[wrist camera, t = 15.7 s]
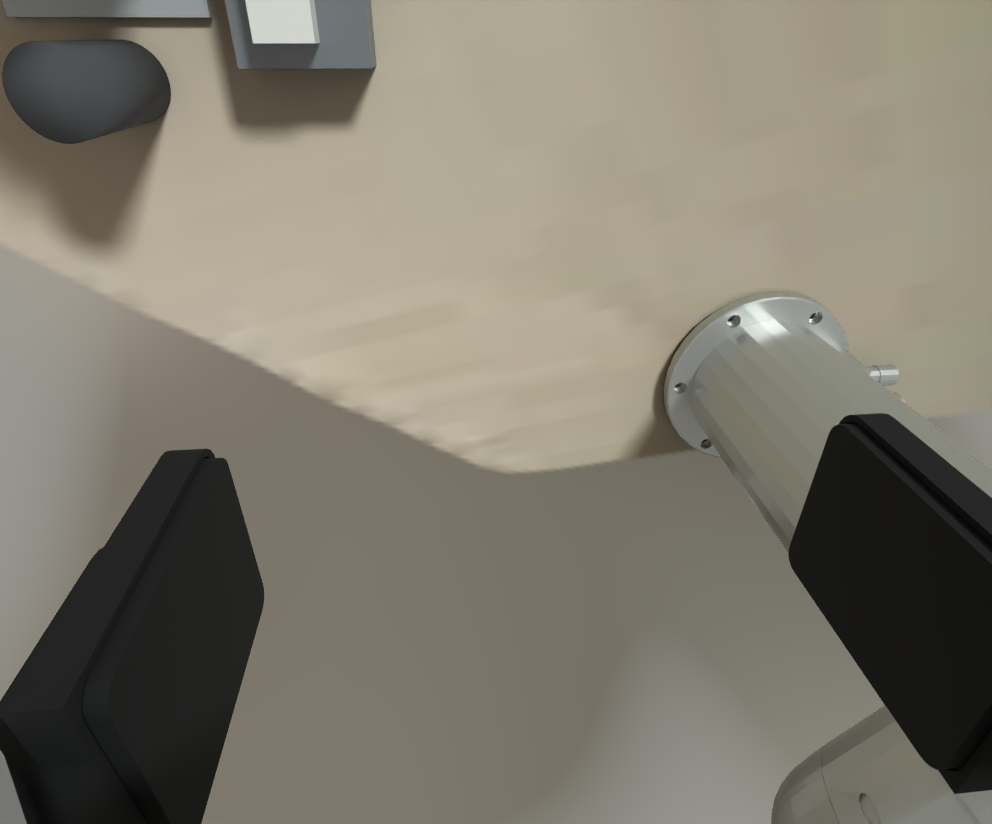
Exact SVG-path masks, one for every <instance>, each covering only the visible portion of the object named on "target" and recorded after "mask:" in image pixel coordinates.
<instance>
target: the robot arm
mask: <svg viewBox="0 0 992 824" xmlns="http://www.w3.org/2000/svg"><path fill="white" fill-rule="evenodd" d="M898 378H899V372H898V369H897V368H896V366H894V365H873V366H871V367H867V366H866V365H864V364H863V363H862V362H860V361H859V360H858V359H856V358H855V357H854V356H852V355H851V354H850V353H849V346H848V342H847V338H846V334H845V331H844V330H843V328H842V326H841V325H840V323H839V321H838V320H837V319H836V318H835V317H834V316H833V315H832V314H831V313H830V312H829V311H828V310H827V309H826V308H824V307H823V306H821V305H820V304H818V303H817V302H815V301H813V300H811V299H808V298H806V297H804V296H801V295H797V294H791V293H785V292H774V293H762V294H757V295H753V296H748V297H745V298H743V299H740V300H737V301H735V302H732V303H730V304H728V305H726V306H724V307H723V308H721V309H719V310H718V311H716V312H714V313H712V314H711V315H710V316H709V317H707V318H706V319H705V320H704V321H702V322H701V323H700V324H699V325H697V326H696V327H695V328H694V330H693V331H692V332H691V333H690V334H689V335H688V336H687V337H686V338H685V339H684V341H683V342H682V344H681V345H680V347H679V348H678V350H677V351H676V353H675V354H674V356H673V359H672V361H671V363H670V366H669V368H668V370H667V374H666V379H665V383H664V404H665V408H666V413H667V415H668V417H669V419H670V421H671V423H672V425H673V427H674V428H675V430H676V431H677V433H678V434H679V436H680V437H681V438H682V439H683V440H684V441H685V442H686V443H688V444H689V445H690V446H691V447H693V448H695V449H696V450H698V451H700V452H702V453H705V454H709V455H712V456H715V457H722V459H723V460H724V462H725V463H726V464H727V466H728V467H729V469H730V470H731V471H732V473H733V474H734V476H735V477H736V479H737V480H738V482H739V483H740V484H741V486H742V487H743V489H744V490H745V492H746V493H747V495H748V496H749V497H750V499H751V500H752V502H753V503H754V505H755V506H756V508H757V509H758V510H759V512H760V513H761V515H762V516H763V518H764V519H765V521H766V522H767V523H768V525H769V526H770V528H771V529H772V530H773V532H774V533H775V535H776V536H777V538H778V539H779V541H780V542H781V544H782V545H783V546H784V548H785V549H786V551H787V552H788V554H789V561H790V564H791V567H792V569H793V571H794V572H795V574H796V575H797V577H798V578H799V579H800V581H801V582H802V584H803V585H804V587H805V588H806V590H807V591H808V593H809V594H810V595H811V597H812V599H813V600H814V601H815V603H816V604H817V606H818V607H819V609H820V610H821V612H822V613H823V614H824V616H825V618H826V619H827V621H828V622H829V623H830V625H831V626H832V628H833V629H834V631H835V632H836V634H837V635H838V637H839V638H840V640H841V641H842V643H843V644H844V645H845V647H846V648H847V650H848V651H849V653H850V654H851V656H852V657H853V659H854V660H855V662H856V663H857V665H858V666H859V667H860V669H861V670H862V672H863V673H864V675H865V676H866V678H867V679H868V681H869V682H870V684H871V685H872V687H873V688H874V689H875V691H876V692H877V694H878V695H879V697H880V698H881V700H882V701H883V703H884V704H885V705H884V706H883V707H882V708H880V709H878V710H877V711H876V712H874V713H872V714H871V715H869V716H868V717H866V718H865V719H863V720H862V721H860V722H859V723H857V724H856V725H854V726H853V727H851V728H849V729H848V730H846V731H845V732H843V733H842V734H840V735H839V736H837V737H836V738H834V739H833V740H831V741H830V742H828V743H827V744H826V745H824V746H823V747H821V748H820V749H818V750H817V751H815V752H814V753H813V754H811V755H810V756H809V757H808V758H806V759H805V760H804V761H802V762H801V763H800V764H799V765H798V766H796V767H795V768H794V769H793V770H792V771H791V772H790V773H789V774H788V776H787V777H786V778H785V780H784V781H783V782H782V784H781V785H780V788H779V790H778V792H777V794H776V797H775V799H774V804H773V809H772V816H771V824H992V469H990V468H989V467H988V466H987V465H985V464H984V463H982V462H981V461H980V460H978V459H977V458H976V457H974V456H973V455H972V454H970V453H969V452H968V451H967V450H965V449H964V448H963V447H961V446H960V445H959V444H957V443H956V442H955V441H954V440H952V439H951V438H950V437H949V436H947V435H946V434H945V433H943V432H942V431H941V430H939V429H938V428H937V427H936V426H934V425H933V424H932V423H930V422H929V421H928V420H927V419H925V418H924V417H923V416H921V415H920V414H919V413H917V412H916V411H915V410H914V409H912V408H911V407H910V406H908V405H907V404H906V403H905V401H904V399H903V397H902V396H901V395H900V394H898V393H892V392H890V391H889V390H888V389H886V388H885V387H884V386H888V385H894V384H896V382H897V381H898ZM263 603H264V588H263V583H262V579H261V576H260V573H259V569H258V566H257V562H256V559H255V555H254V552H253V548H252V545H251V541H250V538H249V534H248V531H247V528H246V524H245V521H244V517H243V514H242V510H241V507H240V503H239V500H238V497H237V493H236V490H235V486H234V483H233V479H232V476H231V472H230V469H229V466H228V463H227V461H226V460H225V459H224V458H215V456H214V454H213V453H212V451H211V450H209V449H195V450H173V451H167V452H165V453H164V454H163V455H162V456H161V457H160V459H159V461H158V462H157V464H156V465H155V467H154V468H153V470H152V472H151V473H150V475H149V476H148V478H147V480H146V481H145V483H144V484H143V486H142V488H141V489H140V491H139V492H138V494H137V495H136V497H135V499H134V500H133V502H132V503H131V505H130V507H129V508H128V510H127V511H126V513H125V515H124V516H123V518H122V519H121V521H120V522H119V524H118V526H117V527H116V529H115V530H114V532H113V533H112V535H111V537H110V539H109V540H108V542H107V543H106V545H105V546H104V547H103V548H102V549H100V550H99V551H98V552H97V553H96V554H95V555H94V557H93V558H92V559H91V560H90V562H89V563H88V565H87V567H86V568H85V570H84V571H83V573H82V574H81V576H80V578H79V579H78V581H77V582H76V584H75V585H74V587H73V588H72V590H71V592H70V593H69V595H68V596H67V598H66V599H65V601H64V603H63V604H62V606H61V607H60V609H59V610H58V612H57V613H56V615H55V617H54V618H53V620H52V621H51V623H50V625H49V626H48V628H47V629H46V631H45V632H44V634H43V635H42V637H41V639H40V640H39V642H38V643H37V645H36V647H35V648H34V649H33V651H32V653H31V654H30V656H29V657H28V659H27V660H26V662H25V663H24V665H23V667H22V668H21V670H20V671H19V673H18V675H17V676H16V678H15V679H14V681H13V682H12V684H11V685H10V687H9V689H8V690H7V692H6V693H5V695H4V696H3V698H2V700H1V701H0V824H201V822H202V818H203V815H204V812H205V808H206V805H207V801H208V798H209V794H210V791H211V787H212V784H213V780H214V777H215V773H216V770H217V766H218V763H219V759H220V755H221V752H222V749H223V745H224V742H225V738H226V735H227V731H228V728H229V724H230V721H231V717H232V714H233V710H234V707H235V703H236V700H237V696H238V693H239V689H240V686H241V683H242V679H243V676H244V672H245V669H246V665H247V662H248V658H249V655H250V651H251V648H252V644H253V640H254V637H255V634H256V630H257V627H258V623H259V620H260V616H261V613H262V609H263Z"/></svg>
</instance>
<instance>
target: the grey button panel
mask: <svg viewBox="0 0 992 824" xmlns="http://www.w3.org/2000/svg"><path fill="white" fill-rule="evenodd" d="M1 1H2V4H3V6H4V9H5V12H6V15H7V17H174V18H213V17H212V12H211V7H210V2H209V0H1ZM225 5H226V10H227V15H228V20H229V26H230V31H231V36H232V41H233V46H234V51H235V56H236V61H237V67H238V69H323V68H373V67H375V66H376V56H375V45H374V34H373V23H372V11H371V0H225Z"/></svg>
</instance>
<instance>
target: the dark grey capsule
mask: <svg viewBox="0 0 992 824" xmlns="http://www.w3.org/2000/svg"><path fill="white" fill-rule="evenodd" d="M2 74H3V85H4V89H5V92H6V95H7V97H8V100H9V102H10V104H11V105H12V107H13V109H14V110H15V112H16V113H17V114H18V116H19V117H20V118H21V119H22V120H23V121H24V122H25V123H26V124H27V125H28V126H29V127H30V128H31V129H33V130H34V131H36V132H37V133H38V134H40V135H42V136H44V137H46V138H48V139H50V140H53V141H56V142H60V143H67V144H74V143H80V142H84V141H87V140H90V139H94V138H97V137H100V136H104V135H107V134H111V133H114V132H117V131H121V130H124V129H127V128H131V127H134V126H138V125H141V124H144V123H148V122H151V121H154V120H156V119H158V118H159V117H161V116H162V115H163V114H164V112H165V111H166V109H167V108H168V105H169V102H170V96H171V91H170V83H169V80H168V77H167V74H166V72H165V70H164V68H163V67H162V65H161V64H160V62H159V61H158V60H157V58H156V57H155V56H154V55H153V54H152V53H151V52H149V51H148V50H147V49H145V48H144V47H142V46H141V45H139V44H137V43H134V42H131V41H127V40H76V41H31V42H26V43H23V44H20V45H18V46H17V47H15V48H14V49H13V50H12V51H11V52H10V53H9V54H8V56H7V58H6V60H5V62H4V66H3V73H2Z"/></svg>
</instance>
